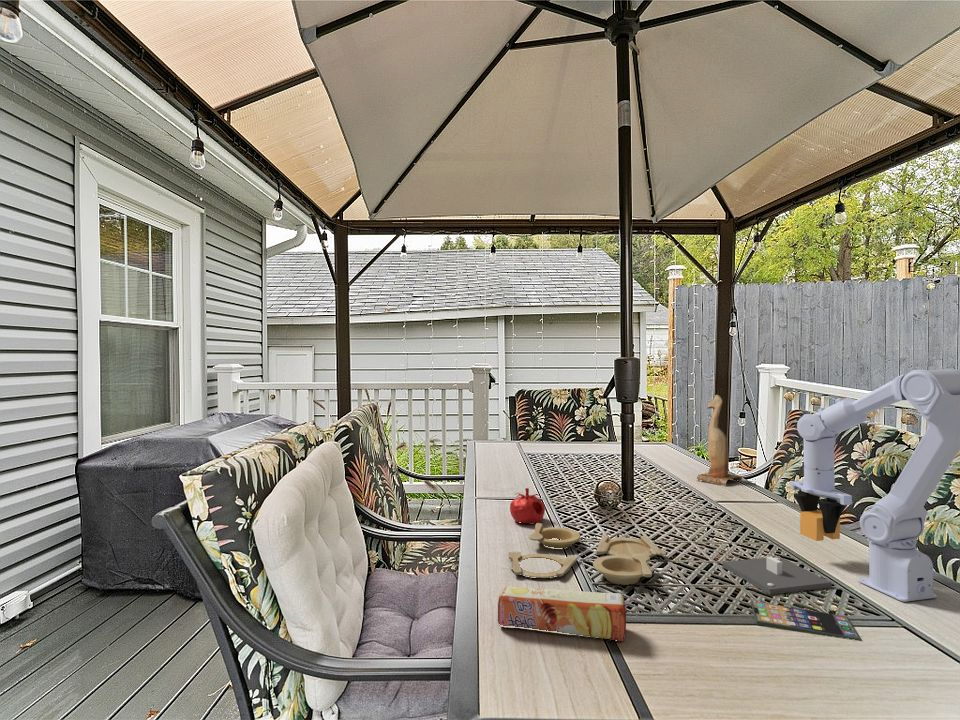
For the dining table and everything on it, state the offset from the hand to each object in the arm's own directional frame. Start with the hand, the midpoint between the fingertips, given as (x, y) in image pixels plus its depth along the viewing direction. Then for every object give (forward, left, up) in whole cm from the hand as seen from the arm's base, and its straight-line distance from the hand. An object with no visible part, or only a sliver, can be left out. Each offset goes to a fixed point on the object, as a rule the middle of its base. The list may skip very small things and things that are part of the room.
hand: (819, 529), depth 117 cm
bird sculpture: (+71, -26, -7) cm, 76 cm away
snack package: (-15, +67, -8) cm, 69 cm away
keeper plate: (-5, +16, -7) cm, 18 cm away
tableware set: (+13, +50, -8) cm, 52 cm away
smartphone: (-22, +25, -8) cm, 34 cm away
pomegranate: (+43, +55, -7) cm, 70 cm away
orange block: (0, 0, -2) cm, 2 cm away
